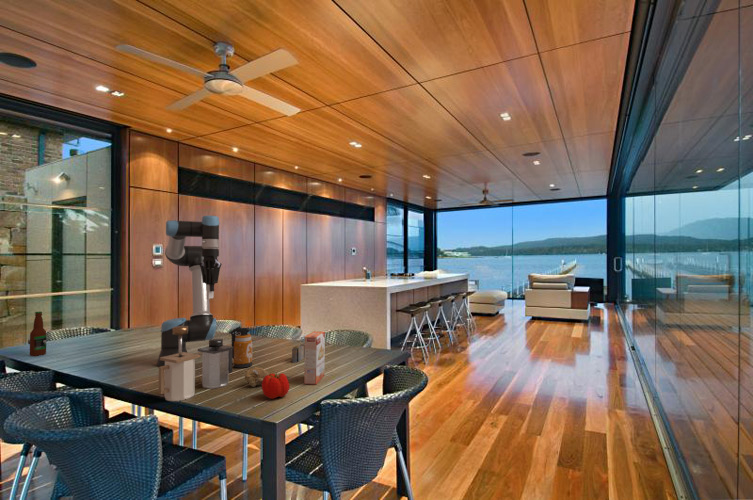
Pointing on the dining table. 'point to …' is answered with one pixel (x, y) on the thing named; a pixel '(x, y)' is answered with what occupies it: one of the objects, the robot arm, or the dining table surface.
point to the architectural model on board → (298, 353)
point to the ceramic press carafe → (178, 376)
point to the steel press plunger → (215, 343)
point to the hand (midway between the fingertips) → (210, 298)
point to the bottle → (38, 337)
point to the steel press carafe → (216, 366)
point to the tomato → (275, 385)
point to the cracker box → (314, 357)
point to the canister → (241, 347)
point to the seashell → (255, 376)
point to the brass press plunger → (180, 335)
